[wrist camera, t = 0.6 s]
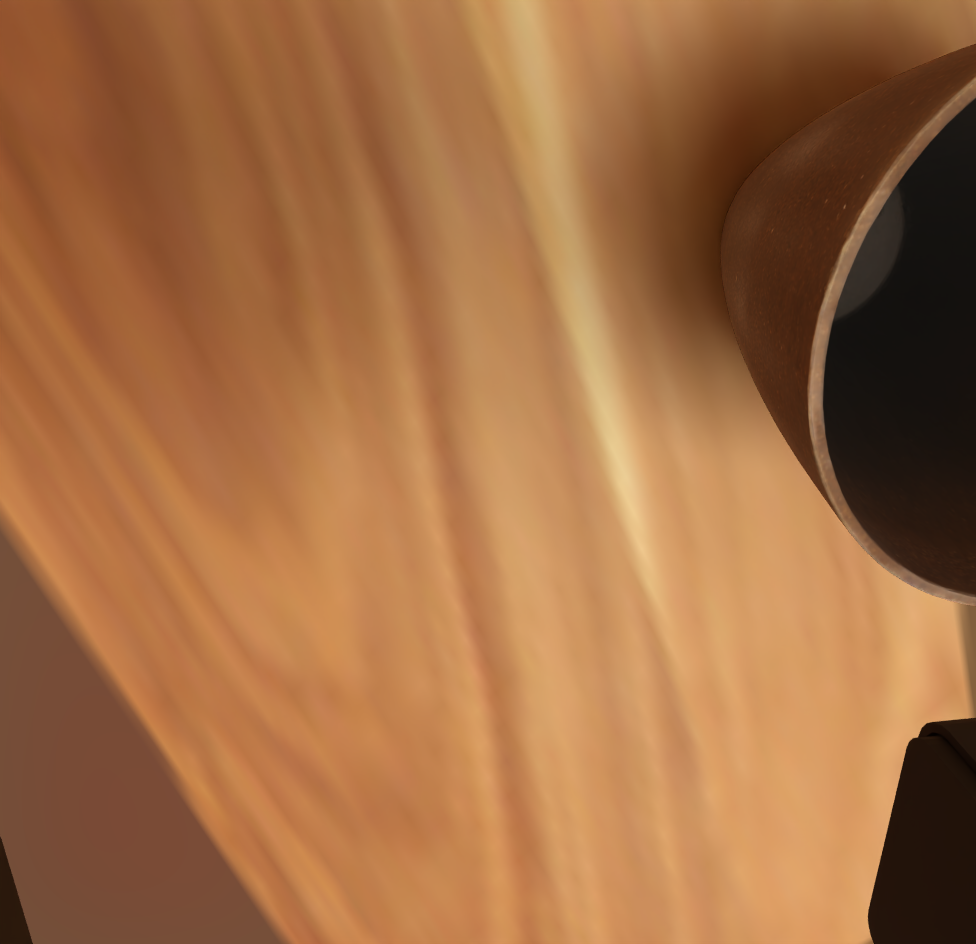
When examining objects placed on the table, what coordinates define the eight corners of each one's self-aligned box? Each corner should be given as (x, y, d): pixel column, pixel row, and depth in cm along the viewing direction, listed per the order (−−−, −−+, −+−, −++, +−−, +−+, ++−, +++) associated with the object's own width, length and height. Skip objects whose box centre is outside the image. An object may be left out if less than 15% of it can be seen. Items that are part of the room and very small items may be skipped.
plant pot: (577, 111, 33) (749, 146, 19) (964, -42, 33) (1445, -127, 18) (679, 458, 40) (866, 685, 25) (1004, 333, 39) (1385, 490, 25)
